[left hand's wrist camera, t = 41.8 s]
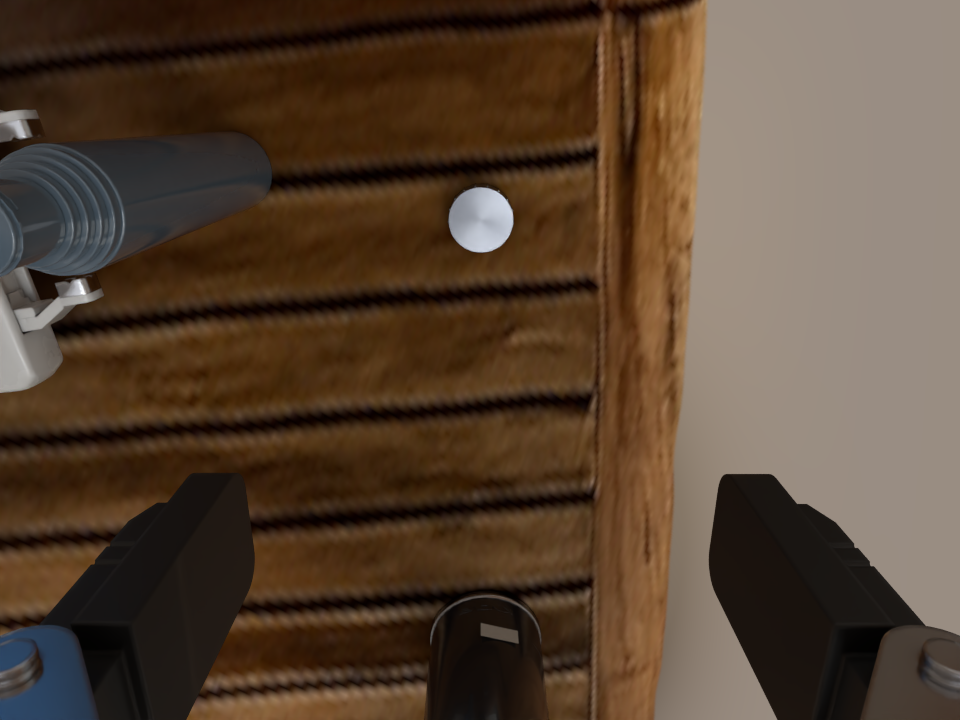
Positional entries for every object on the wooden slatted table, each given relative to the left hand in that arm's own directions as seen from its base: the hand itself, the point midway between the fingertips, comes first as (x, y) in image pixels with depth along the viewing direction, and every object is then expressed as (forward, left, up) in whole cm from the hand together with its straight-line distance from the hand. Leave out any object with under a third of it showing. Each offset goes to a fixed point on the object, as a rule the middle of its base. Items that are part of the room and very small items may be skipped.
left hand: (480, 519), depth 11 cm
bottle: (+3, +16, -36) cm, 40 cm away
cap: (0, 0, -34) cm, 34 cm away
